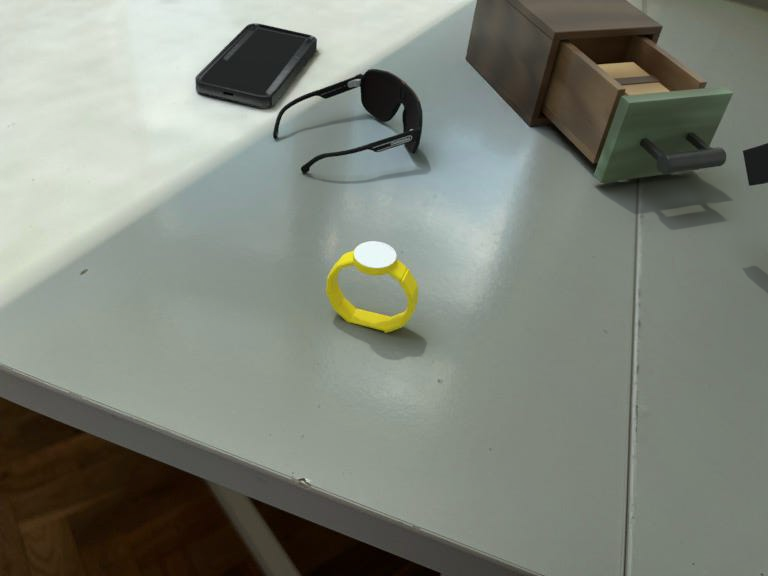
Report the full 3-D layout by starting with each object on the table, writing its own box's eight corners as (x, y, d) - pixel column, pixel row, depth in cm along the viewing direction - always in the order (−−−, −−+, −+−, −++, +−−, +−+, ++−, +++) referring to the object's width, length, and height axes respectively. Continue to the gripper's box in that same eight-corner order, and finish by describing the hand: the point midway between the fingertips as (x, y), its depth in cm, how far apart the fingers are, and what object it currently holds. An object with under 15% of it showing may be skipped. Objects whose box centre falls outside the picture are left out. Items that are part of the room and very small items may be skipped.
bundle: (659, 147, 72) (680, 96, 69) (617, 152, 71) (636, 100, 67) (617, 110, 77) (634, 60, 73) (577, 114, 75) (592, 63, 72)
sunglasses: (435, 159, 70) (438, 110, 66) (315, 201, 65) (311, 152, 62) (376, 103, 76) (376, 56, 72) (263, 138, 72) (257, 90, 68)
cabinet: (630, 116, 81) (663, 26, 74) (529, 126, 76) (554, 32, 70) (558, 52, 90) (581, -32, 84) (465, 58, 86) (482, -30, 80)
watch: (415, 321, 54) (429, 254, 50) (404, 348, 52) (417, 280, 48) (333, 296, 55) (340, 229, 51) (319, 322, 53) (325, 253, 49)
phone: (319, 37, 83) (270, 99, 72) (319, 47, 84) (270, 110, 73) (249, 21, 84) (190, 80, 73) (249, 31, 85) (190, 91, 74)
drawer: (729, 196, 69) (768, 118, 64) (628, 211, 66) (661, 130, 60) (616, 98, 81) (641, 25, 76) (526, 106, 77) (546, 31, 72)
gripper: (1202, -19, 40) (807, 111, 62) (1039, -12, 35) (676, 126, 57) (1229, 126, 40) (824, 205, 62) (1069, 152, 35) (694, 227, 57)
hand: (753, 167), depth 59 cm, fingers closed
